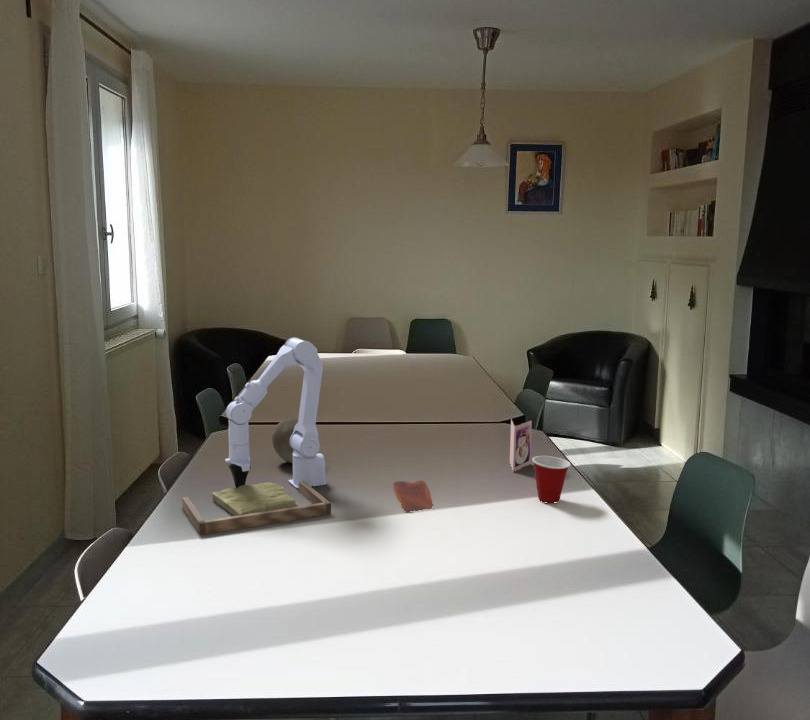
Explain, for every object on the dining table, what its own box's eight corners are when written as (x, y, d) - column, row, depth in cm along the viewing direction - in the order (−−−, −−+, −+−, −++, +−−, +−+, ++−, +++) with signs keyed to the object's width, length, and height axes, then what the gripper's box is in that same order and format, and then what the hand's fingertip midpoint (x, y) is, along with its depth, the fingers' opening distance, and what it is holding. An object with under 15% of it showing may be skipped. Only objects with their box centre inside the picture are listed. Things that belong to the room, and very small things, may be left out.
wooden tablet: (392, 484, 238) (392, 479, 237) (424, 484, 239) (424, 478, 238) (399, 515, 211) (399, 509, 211) (436, 514, 212) (436, 508, 212)
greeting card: (515, 472, 249) (517, 427, 246) (495, 468, 253) (496, 423, 251) (532, 464, 258) (534, 420, 255) (512, 460, 262) (514, 417, 260)
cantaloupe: (319, 458, 263) (318, 414, 260) (310, 470, 249) (309, 424, 247) (278, 456, 264) (277, 413, 262) (266, 468, 250) (266, 423, 248)
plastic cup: (569, 508, 216) (571, 466, 215) (529, 505, 219) (531, 464, 217) (569, 496, 227) (570, 456, 225) (531, 493, 229) (532, 453, 227)
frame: (303, 490, 229) (303, 480, 228) (330, 513, 210) (330, 503, 210) (182, 508, 213) (182, 497, 213) (200, 535, 194) (199, 523, 194)
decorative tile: (239, 523, 204) (239, 510, 203) (211, 501, 220) (211, 489, 220) (303, 510, 214) (303, 497, 214) (271, 490, 231) (271, 478, 230)
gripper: (218, 438, 228) (220, 483, 230) (231, 451, 215) (232, 498, 218) (242, 436, 231) (243, 480, 233) (256, 448, 219) (257, 494, 221)
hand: (240, 488), depth 226 cm, fingers closed
